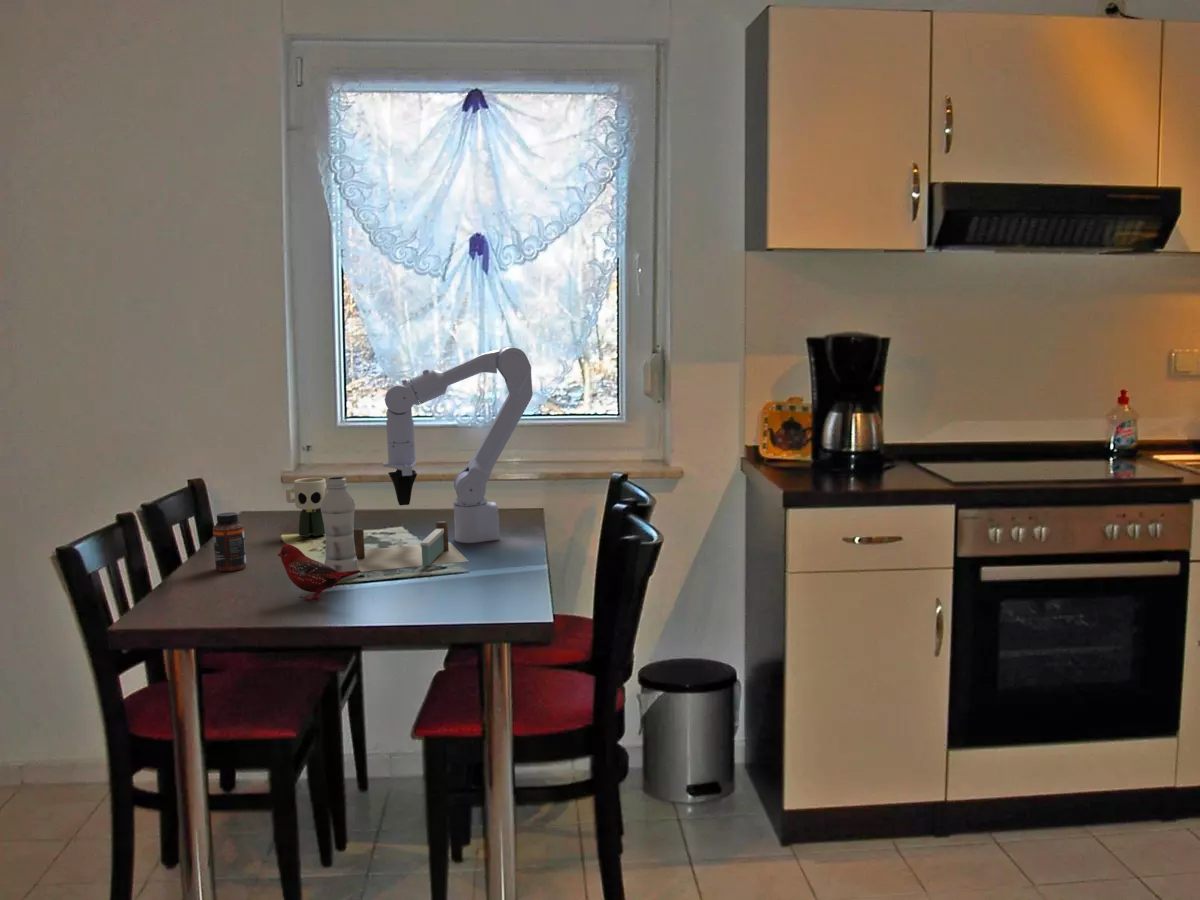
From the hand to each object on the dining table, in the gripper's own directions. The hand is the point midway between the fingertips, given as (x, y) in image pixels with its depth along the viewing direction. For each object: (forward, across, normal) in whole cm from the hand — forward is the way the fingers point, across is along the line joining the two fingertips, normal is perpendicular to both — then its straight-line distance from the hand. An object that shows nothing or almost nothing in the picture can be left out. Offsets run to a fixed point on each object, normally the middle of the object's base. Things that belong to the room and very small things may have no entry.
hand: (404, 504), depth 245 cm
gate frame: (+9, +13, -2) cm, 16 cm away
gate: (+8, +19, +3) cm, 21 cm away
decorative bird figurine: (+10, +39, -21) cm, 45 cm away
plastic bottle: (+10, +26, -16) cm, 32 cm away
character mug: (+10, -22, -18) cm, 30 cm away
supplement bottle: (+10, +5, -36) cm, 38 cm away
